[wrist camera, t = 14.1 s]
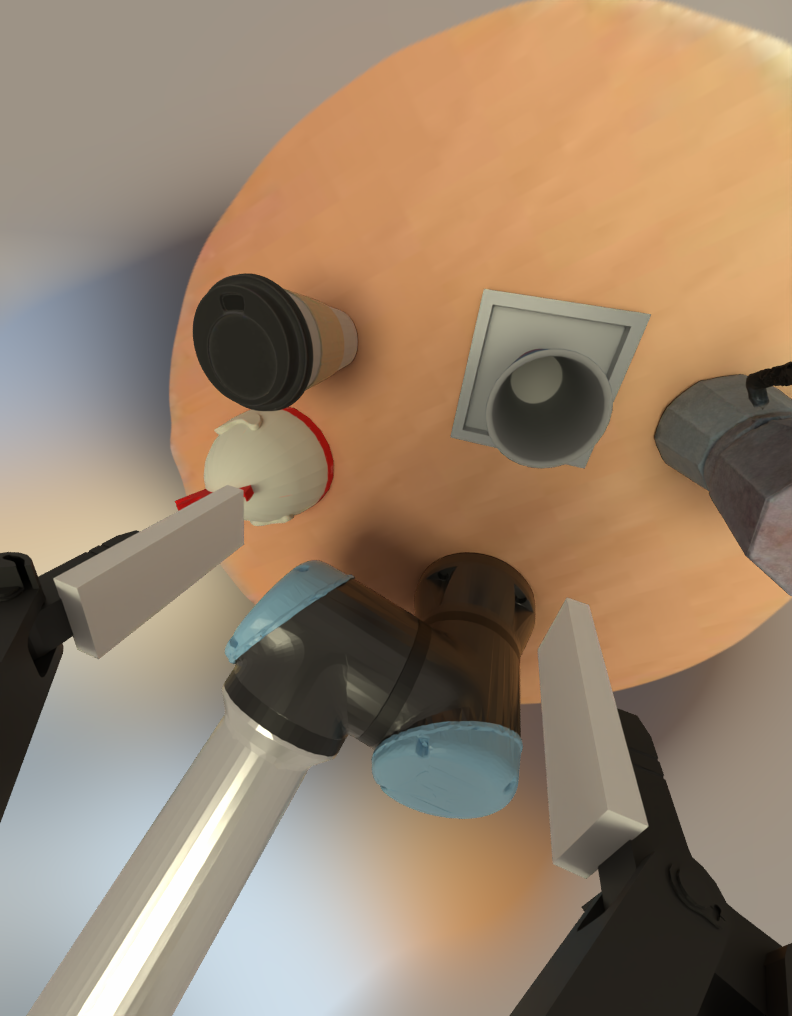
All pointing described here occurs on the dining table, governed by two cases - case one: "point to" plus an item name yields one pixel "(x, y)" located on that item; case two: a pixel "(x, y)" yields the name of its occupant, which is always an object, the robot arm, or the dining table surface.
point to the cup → (549, 408)
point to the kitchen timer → (269, 464)
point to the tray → (540, 325)
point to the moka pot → (740, 459)
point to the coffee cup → (268, 341)
